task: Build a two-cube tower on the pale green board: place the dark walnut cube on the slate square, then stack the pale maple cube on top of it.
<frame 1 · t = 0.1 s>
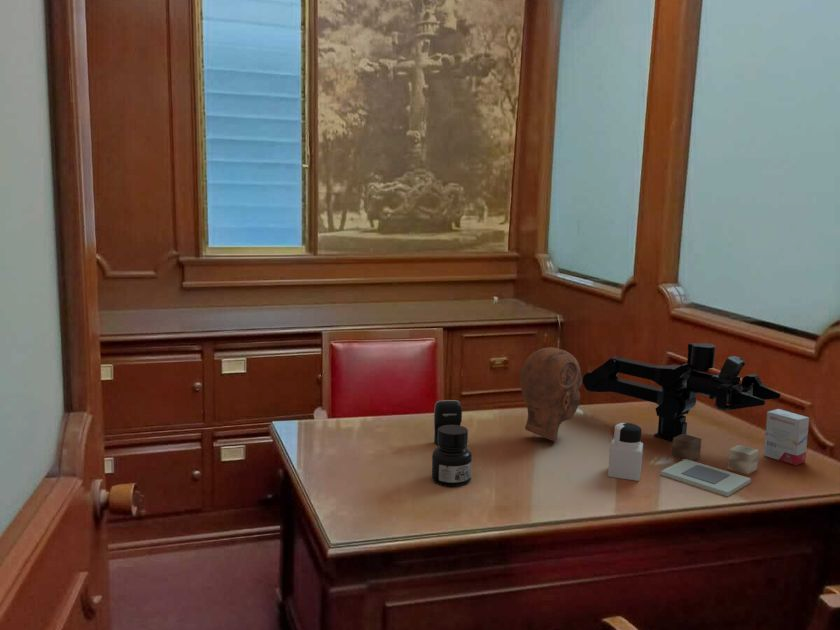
hand: (772, 399, 181), 17 cm above the table, tool horizontal, fingers open, 9 cm apart
medicine bottle: (624, 474, 175), on the table
walnut cube: (685, 457, 187), on the table
head sculpture: (550, 439, 198), on the table
maple cube: (742, 469, 180), on the table
ink bottle: (451, 480, 169), on the table
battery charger: (447, 444, 192), on the table
board: (705, 478, 173), on the table
ink box: (783, 459, 187), on the table
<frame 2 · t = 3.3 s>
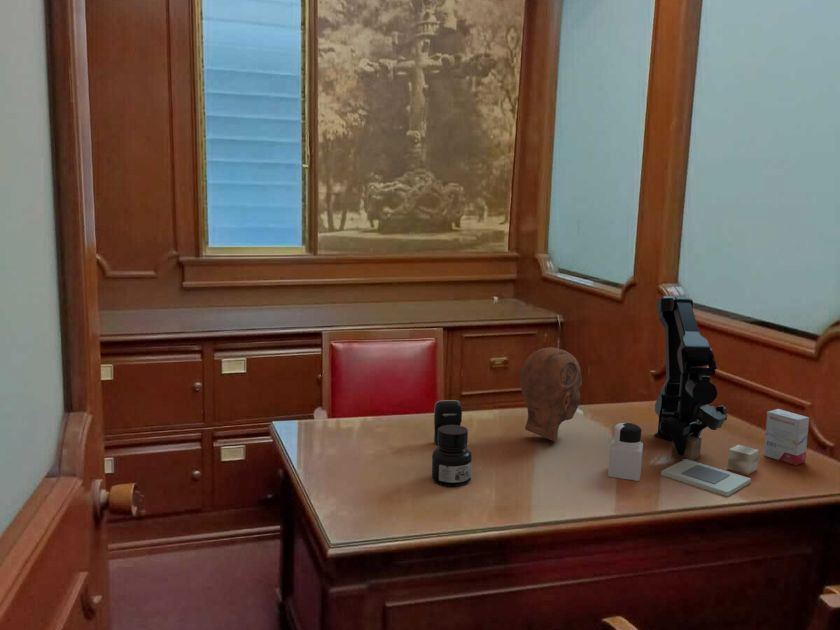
hand: (686, 452, 187), 1 cm above the table, tool pointing down, fingers closed on walnut cube, 5 cm apart
walnut cube: (685, 456, 187), on the table, touching gripper
everything else where it was.
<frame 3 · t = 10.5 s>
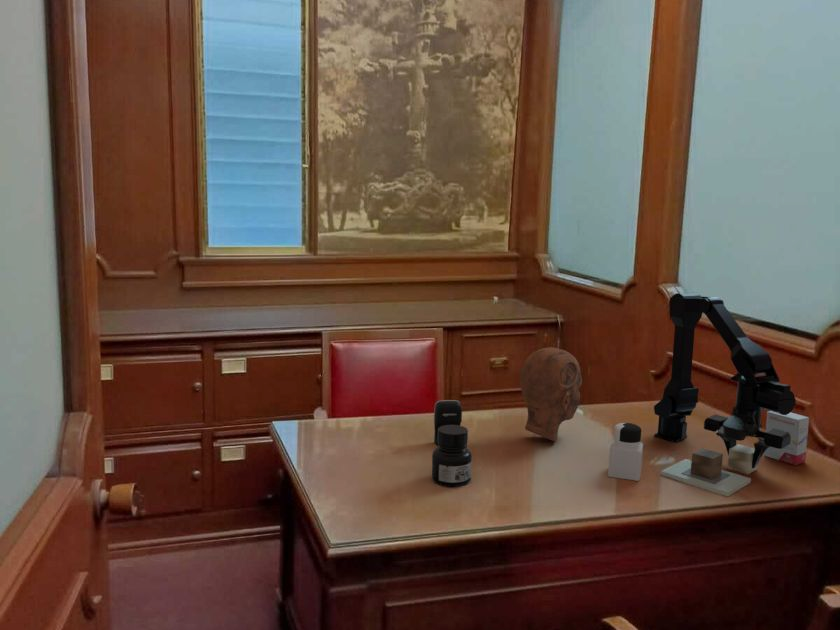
hand: (742, 464, 180), 1 cm above the table, tool pointing down, fingers closed on maple cube, 5 cm apart
walnut cube: (705, 473, 173), point 1 cm above the table, touching board
maple cube: (742, 468, 180), on the table, touching gripper
everything else where it was.
when the fingers open (8 cm above the table, at t = 13.8 s): maple cube drops 1 cm, resting on walnut cube.
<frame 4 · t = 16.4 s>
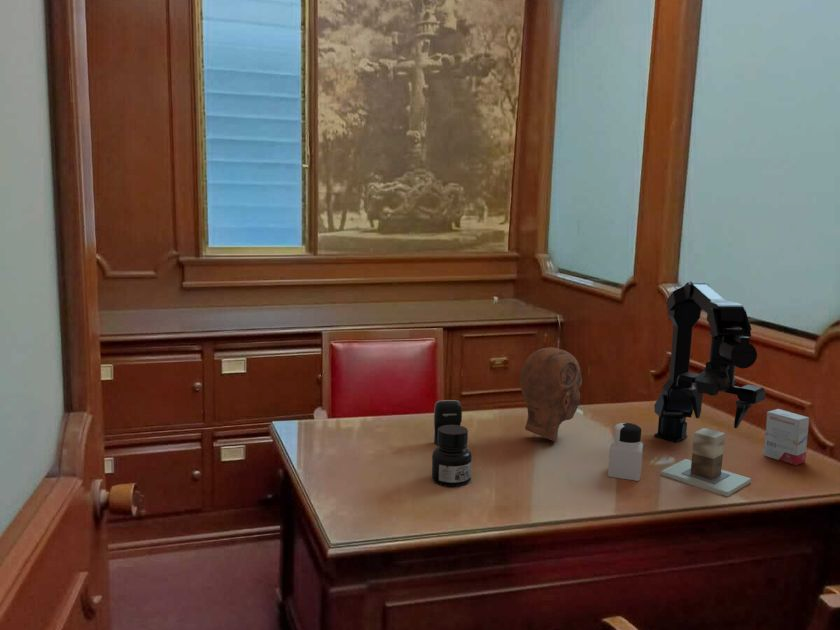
hand: (716, 422, 173), 13 cm above the table, tool pointing down, fingers open, 9 cm apart
walnut cube: (705, 473, 173), point 1 cm above the table, touching board, maple cube
maple cube: (707, 453, 172), point 6 cm above the table, touching walnut cube
everything else where it was.
at the end: walnut cube 0.0 cm off-centre on the board, point 1.2 cm above the board's base; maple cube 0.0 cm off-centre on the walnut cube, point 5.0 cm above the walnut cube's base; the gripper is holding nothing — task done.
